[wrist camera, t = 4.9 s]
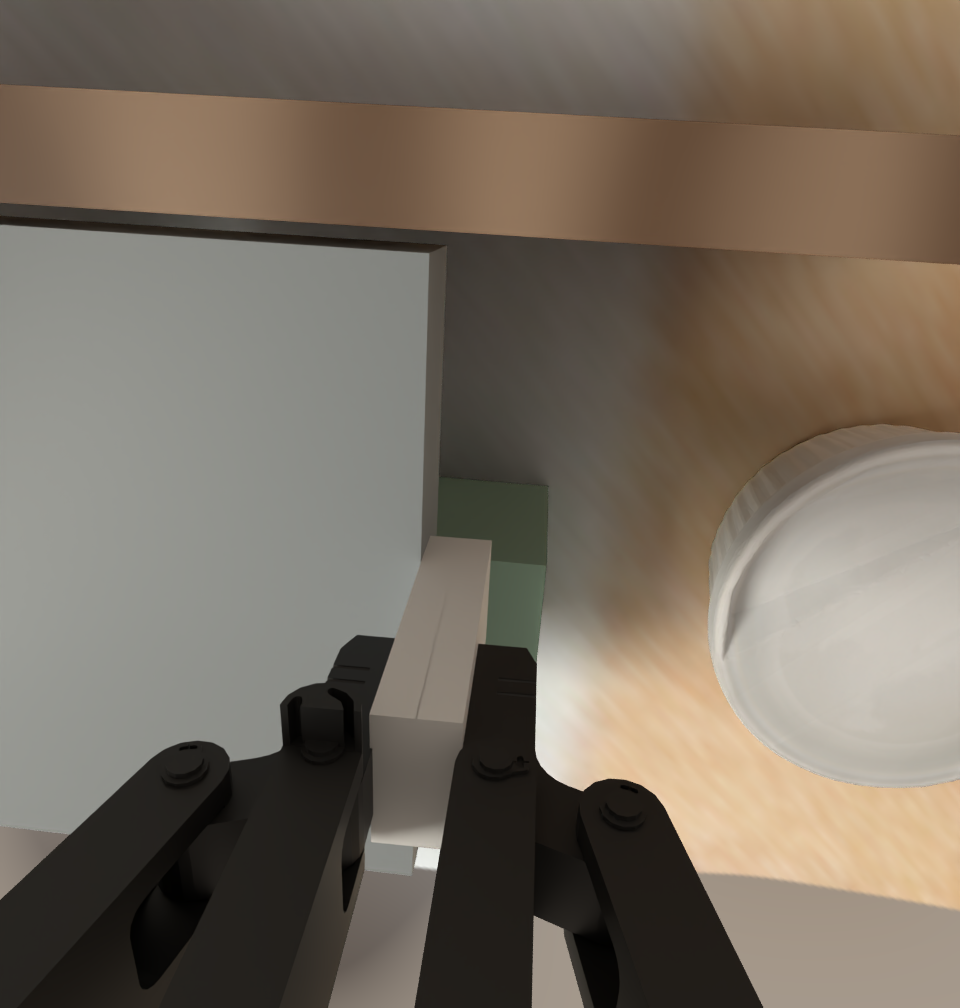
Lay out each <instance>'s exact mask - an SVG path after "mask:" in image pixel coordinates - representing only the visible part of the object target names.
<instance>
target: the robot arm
mask: <svg viewBox="0 0 960 1008" xmlns="http://www.w3.org/2000/svg"><path fill="white" fill-rule="evenodd" d="M491 546H492V540H479V539H466V538H454V537H441V536H430V538H429V541H428V544H427V546H426V549H425V552H424V555H423V558H422V560H421V563H420V566H419V569H418V572H417V575H416V578H415V581H414V584H413V587H412V590H411V593H410V596H409V599H408V602H407V605H406V608H405V611H404V613H403V616H402V619H401V622H400V625H399V628H398V631H397V634H396V637H395V638H388V637H377V636H365V635H356V636H355V637H354V638H352V639H351V640H350V641H349V642H348V643H346V644H345V645H344V646H343V647H341V649H340V651H339V653H338V655H337V657H336V660H335V662H334V664H333V668H331V671H330V673H329V675H328V677H327V681H326V682H325V683H315V684H311V685H308V686H304V687H300V688H299V689H297V690H295V691H294V692H292V693H290V694H288V695H287V696H286V698H285V699H284V700H283V701H282V702H281V704H280V714H281V727H282V741H283V746H282V748H281V750H280V751H278V752H275V753H273V754H270V755H267V756H262V757H258V758H252V759H245V760H238V761H231V762H230V757H229V756H228V754H227V753H226V751H225V749H224V748H222V747H220V746H218V745H217V744H215V743H213V742H206V741H198V740H197V741H190V742H183V743H179V744H176V745H174V746H171V747H169V748H166V749H164V750H162V751H161V752H160V753H158V754H157V755H155V756H154V757H153V758H151V759H150V760H149V761H148V762H147V763H146V764H145V765H144V766H143V767H141V768H140V769H139V770H138V771H137V772H136V773H135V774H134V775H133V776H132V777H131V778H130V779H129V780H128V781H127V782H125V783H124V784H123V785H122V786H121V787H120V788H119V789H118V790H117V791H116V792H115V793H114V794H113V795H112V796H111V797H110V798H108V799H107V800H106V801H105V802H104V803H103V804H102V805H101V806H100V807H99V808H98V809H97V810H96V811H95V812H94V813H92V814H91V815H90V816H89V817H88V818H87V819H86V820H85V821H84V822H83V823H82V824H81V825H80V826H79V827H78V828H76V829H75V830H74V831H73V832H72V833H71V834H70V835H69V836H68V837H67V838H66V839H65V840H64V841H63V842H62V843H61V844H59V845H58V846H57V847H56V848H55V849H54V850H53V851H52V852H51V853H50V854H49V855H48V856H47V857H46V858H45V859H43V860H42V861H41V862H40V863H39V864H38V865H37V866H36V867H35V868H34V869H33V870H32V871H31V872H30V873H29V874H28V875H26V876H25V877H24V878H23V879H22V880H21V881H20V882H19V883H18V884H17V885H16V886H15V887H14V888H13V889H12V890H10V891H9V892H8V893H7V894H6V895H5V896H4V897H3V898H2V899H1V900H0V1008H328V1005H329V1001H330V998H331V994H332V990H333V986H334V982H335V979H336V975H337V971H338V967H339V964H340V960H341V956H342V952H343V948H344V945H345V941H346V938H347V933H348V930H349V926H350V922H351V919H352V915H353V911H354V907H355V904H356V900H357V896H358V892H359V888H360V885H361V881H362V877H363V873H364V870H365V843H366V839H367V835H368V832H369V828H370V825H371V842H375V843H385V844H395V845H404V846H414V847H424V848H433V849H440V856H439V862H438V868H437V874H436V880H435V886H434V893H433V898H432V904H431V911H430V916H429V923H428V929H427V935H426V941H425V947H424V953H423V960H422V965H421V972H420V977H419V984H418V990H417V996H416V1002H415V1008H532V1007H531V1006H532V963H533V916H536V917H538V918H541V919H543V920H545V921H548V922H550V923H552V924H555V925H557V926H559V927H561V928H564V937H565V940H566V944H567V948H568V951H569V954H570V958H571V962H572V966H573V969H574V973H575V976H576V980H577V984H578V987H579V991H580V994H581V998H582V1002H583V1005H584V1008H763V1006H762V1004H761V1002H760V1000H759V998H758V996H757V994H756V992H755V990H754V988H753V986H752V984H751V982H750V980H749V978H748V976H747V974H746V972H745V969H744V967H743V965H742V963H741V961H740V959H739V957H738V955H737V953H736V951H735V949H734V947H733V945H732V943H731V941H730V939H729V937H728V935H727V933H726V931H725V929H724V927H723V925H722V923H721V921H720V919H719V917H718V915H717V913H716V911H715V909H714V907H713V905H712V903H711V901H710V899H709V897H708V895H707V893H706V891H705V889H704V887H703V885H702V883H701V880H700V878H699V876H698V874H697V872H696V870H695V868H694V866H693V864H692V862H691V860H690V858H689V856H688V854H687V852H686V850H685V848H684V846H683V844H682V842H681V840H680V838H679V836H678V834H677V832H676V830H675V828H674V826H673V824H672V822H671V820H670V818H669V816H668V814H667V812H666V810H665V808H664V806H663V805H662V804H661V802H660V801H659V800H658V798H657V797H656V796H655V795H654V794H653V793H652V792H650V791H649V790H647V789H646V788H644V787H643V786H641V785H639V784H636V783H633V782H630V781H627V780H621V779H606V780H602V781H598V782H595V783H593V784H592V785H591V786H589V787H588V788H587V789H585V790H584V792H583V791H580V790H577V789H575V788H572V787H569V786H567V785H565V784H563V783H561V782H558V781H557V780H555V779H554V778H553V777H551V776H550V775H548V774H547V773H546V771H545V770H544V769H543V768H542V767H541V766H540V764H539V762H538V760H537V758H536V752H535V724H536V676H537V663H536V662H535V660H534V659H533V657H532V655H531V654H530V652H529V651H528V649H527V648H522V647H511V646H499V645H488V644H485V642H486V630H487V613H488V596H489V579H490V563H491Z"/></svg>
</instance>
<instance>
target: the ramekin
mask: <svg viewBox="0 0 960 1008" xmlns="http://www.w3.org/2000/svg"><path fill="white" fill-rule="evenodd" d="M709 593H710V603H709V611H708V641H709V648H710V654H711V659H712V663H713V667H714V670H715V673H716V676H717V679H718V682H719V684H720V687H721V689H722V691H723V693H724V695H725V697H726V699H727V701H728V703H729V704H730V706H731V707H732V709H733V711H734V712H735V714H736V715H737V717H738V718H739V719H740V720H741V722H742V723H743V725H744V726H745V727H746V728H747V729H748V730H749V731H750V732H751V733H752V734H753V735H754V736H755V737H756V738H757V739H758V740H759V741H760V742H761V743H763V744H764V745H765V746H766V747H768V748H769V749H770V750H771V751H773V752H774V753H775V754H777V755H778V756H780V757H782V758H784V759H785V760H787V761H789V762H791V763H793V764H795V765H797V766H799V767H800V768H803V769H805V770H808V771H810V772H812V773H814V774H817V775H820V776H822V777H826V778H829V779H832V780H835V781H840V782H845V783H850V784H854V785H861V786H871V787H882V788H910V787H926V786H932V785H936V784H941V783H946V782H952V781H955V780H959V779H960V433H955V432H935V431H930V430H925V429H921V428H916V427H911V426H894V425H889V424H876V425H870V426H868V425H859V426H855V427H852V428H842V429H838V430H835V431H832V432H830V433H827V434H822V435H818V436H816V437H814V438H812V439H810V440H807V441H805V442H802V443H800V444H798V445H796V446H794V447H793V448H791V449H790V450H788V451H786V452H784V453H781V454H780V455H778V456H777V457H776V458H775V459H773V460H772V461H771V462H770V463H768V464H766V465H764V466H763V467H762V468H761V469H760V470H759V471H758V473H757V474H756V475H755V476H754V477H752V478H751V479H750V480H749V481H747V483H746V484H745V486H744V487H743V489H742V490H741V491H740V492H739V493H738V494H737V495H736V496H735V498H734V500H733V502H732V504H731V506H730V507H729V508H728V510H727V511H726V512H725V515H724V518H723V520H722V522H721V524H720V526H719V528H718V529H717V533H716V537H715V539H714V541H713V543H712V547H711V556H710V559H709Z"/></svg>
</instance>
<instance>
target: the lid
mask: <svg viewBox="0 0 960 1008" xmlns="http://www.w3.org/2000/svg"><path fill="white" fill-rule="evenodd" d="M446 266H447V245H436V244H421V243H405V242H390V241H375V240H360V239H344V238H329V237H314V236H299V235H283V234H268V233H253V232H238V231H222V230H207V229H192V228H177V227H162V226H146V225H131V224H116V223H101V222H85V221H70V220H55V219H40V218H24V217H9V216H0V826H5V827H13V828H21V829H29V830H38V831H46V832H55V833H62V834H71V833H72V832H73V831H74V830H75V829H76V828H78V827H79V826H80V825H81V824H82V823H83V822H84V821H85V820H86V819H87V818H88V817H89V816H90V815H91V814H92V813H94V812H95V811H96V810H97V809H98V808H99V807H100V806H101V805H102V804H103V803H104V802H105V801H106V800H107V799H108V798H110V797H111V796H112V795H113V794H114V793H115V792H116V791H117V790H118V789H119V788H120V787H121V786H122V785H123V784H124V783H125V782H127V781H128V780H129V779H130V778H131V777H132V776H133V775H134V774H135V773H136V772H137V771H138V770H139V769H140V768H141V767H143V766H144V765H145V764H146V763H147V762H148V761H149V760H150V759H151V758H153V757H154V756H155V755H157V754H158V753H160V752H161V751H162V750H164V749H166V748H169V747H171V746H174V745H176V744H179V743H183V742H190V741H197V740H198V741H206V742H213V743H215V744H217V745H218V746H220V747H222V748H224V749H225V751H226V753H227V754H228V756H229V757H230V762H231V761H238V760H245V759H252V758H258V757H262V756H267V755H270V754H273V753H275V752H278V751H280V750H281V748H282V746H283V741H282V727H281V714H280V704H281V702H282V701H283V700H284V699H285V698H286V696H287V695H288V694H290V693H292V692H294V691H295V690H297V689H299V688H300V687H304V686H308V685H311V684H315V683H325V682H326V681H327V677H328V675H329V673H330V671H331V668H333V664H334V662H335V660H336V657H337V655H338V653H339V651H340V649H341V647H343V646H344V645H345V644H346V643H348V642H349V641H350V640H351V639H352V638H354V637H355V636H356V635H365V636H377V637H388V638H395V637H396V634H397V631H398V628H399V625H400V622H401V619H402V616H403V613H404V611H405V608H406V605H407V602H408V599H409V596H410V593H411V590H412V587H413V584H414V581H415V578H416V575H417V572H418V569H419V566H420V563H421V560H422V558H423V555H424V552H425V549H426V546H427V544H428V541H429V538H430V536H437V513H438V485H439V458H440V431H441V403H442V376H443V349H444V321H445V294H446ZM417 850H418V847H414V846H404V845H395V844H385V843H375V842H371V825H370V828H369V832H368V835H367V839H366V843H365V870H368V871H376V872H384V873H392V874H401V875H409V876H412V873H413V869H414V864H415V860H416V855H417Z"/></svg>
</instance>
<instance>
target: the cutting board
mask: <svg viewBox="0 0 960 1008" xmlns="http://www.w3.org/2000/svg"><path fill="white" fill-rule="evenodd" d="M0 203H12V204H27V205H43V206H58V207H74V208H89V209H105V210H120V211H136V212H151V213H167V214H182V215H198V216H213V217H229V218H244V219H260V220H275V221H291V222H306V223H322V224H337V225H353V226H369V227H384V228H400V229H415V230H431V231H446V232H462V233H477V234H493V235H508V236H524V237H539V238H555V239H570V240H586V241H601V242H617V243H632V244H648V245H663V246H679V247H694V248H710V249H725V250H741V251H756V252H772V253H787V254H803V255H819V256H834V257H850V258H865V259H881V260H896V261H912V262H927V263H943V264H958V265H960V136H958V135H939V134H920V133H902V132H883V131H864V130H846V129H827V128H808V127H790V126H771V125H752V124H734V123H715V122H696V121H678V120H659V119H640V118H622V117H603V116H585V115H566V114H547V113H529V112H510V111H491V110H473V109H454V108H435V107H417V106H398V105H379V104H361V103H342V102H323V101H305V100H286V99H267V98H249V97H230V96H212V95H193V94H174V93H156V92H137V91H118V90H100V89H81V88H62V87H44V86H25V85H6V84H0Z"/></svg>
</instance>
